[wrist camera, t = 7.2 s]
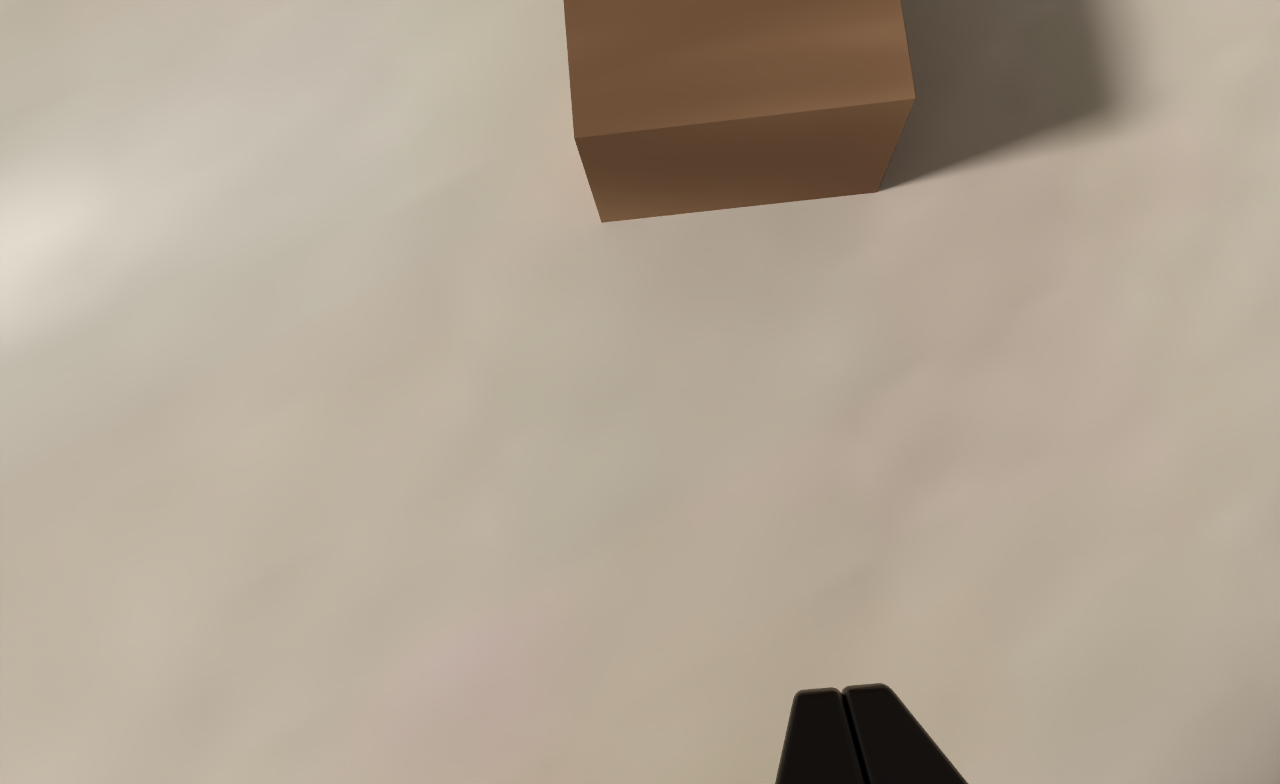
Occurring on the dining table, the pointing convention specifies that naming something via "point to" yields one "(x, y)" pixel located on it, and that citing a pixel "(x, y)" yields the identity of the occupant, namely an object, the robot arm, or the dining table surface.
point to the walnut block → (734, 100)
